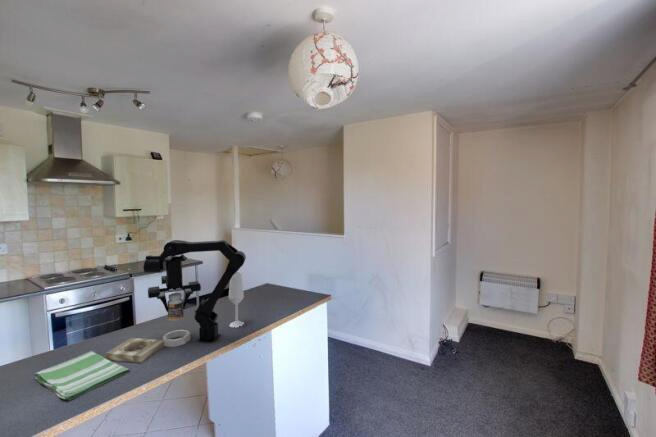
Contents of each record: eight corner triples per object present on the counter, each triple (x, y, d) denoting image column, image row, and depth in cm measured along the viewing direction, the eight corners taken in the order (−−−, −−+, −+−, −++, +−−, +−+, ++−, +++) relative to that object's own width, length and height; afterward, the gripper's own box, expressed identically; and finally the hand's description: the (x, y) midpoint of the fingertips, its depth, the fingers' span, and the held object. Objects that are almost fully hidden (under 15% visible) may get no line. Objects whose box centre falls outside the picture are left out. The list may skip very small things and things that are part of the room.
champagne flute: (241, 320, 146) (240, 270, 144) (246, 325, 141) (245, 273, 139) (227, 323, 142) (226, 272, 141) (231, 328, 137) (230, 275, 135)
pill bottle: (168, 322, 121) (166, 297, 120) (168, 317, 126) (166, 293, 125) (184, 319, 123) (183, 295, 122) (183, 314, 128) (182, 291, 128)
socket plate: (164, 346, 121) (163, 340, 120) (141, 362, 109) (141, 356, 109) (131, 343, 123) (131, 337, 122) (106, 359, 111) (105, 353, 111)
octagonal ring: (194, 336, 129) (194, 330, 129) (180, 347, 120) (180, 341, 120) (173, 334, 131) (173, 329, 130) (158, 345, 121) (157, 339, 121)
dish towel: (65, 404, 88) (65, 395, 87) (31, 381, 99) (30, 372, 99) (130, 373, 103) (130, 365, 103) (94, 355, 114) (94, 348, 114)
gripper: (196, 265, 135) (197, 300, 136) (146, 270, 125) (148, 308, 126) (200, 270, 125) (201, 308, 126) (147, 276, 116) (149, 317, 117)
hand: (175, 310), depth 124 cm, fingers closed on pill bottle, 6 cm apart
